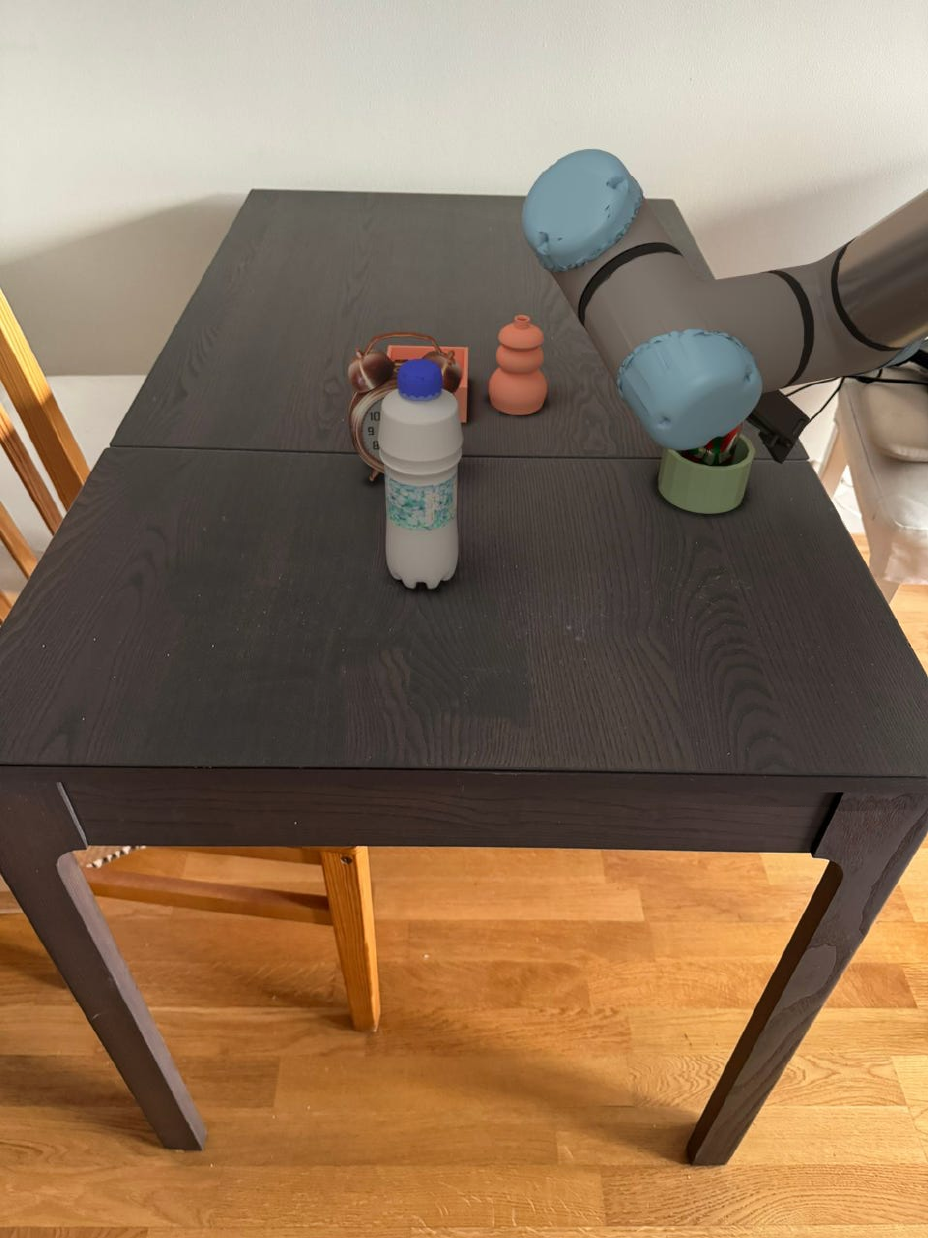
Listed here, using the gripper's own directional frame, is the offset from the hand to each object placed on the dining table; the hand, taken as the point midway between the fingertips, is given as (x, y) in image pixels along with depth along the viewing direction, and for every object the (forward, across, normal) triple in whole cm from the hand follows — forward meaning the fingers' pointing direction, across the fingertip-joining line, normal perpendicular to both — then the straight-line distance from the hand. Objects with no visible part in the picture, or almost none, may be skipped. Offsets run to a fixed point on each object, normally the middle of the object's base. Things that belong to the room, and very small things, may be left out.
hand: (724, 421), depth 88 cm
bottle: (-16, -9, -27) cm, 33 cm away
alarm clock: (-10, -22, -20) cm, 31 cm away
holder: (+4, 0, -6) cm, 7 cm away
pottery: (0, -28, -10) cm, 30 cm away
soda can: (+4, 0, -6) cm, 7 cm away
